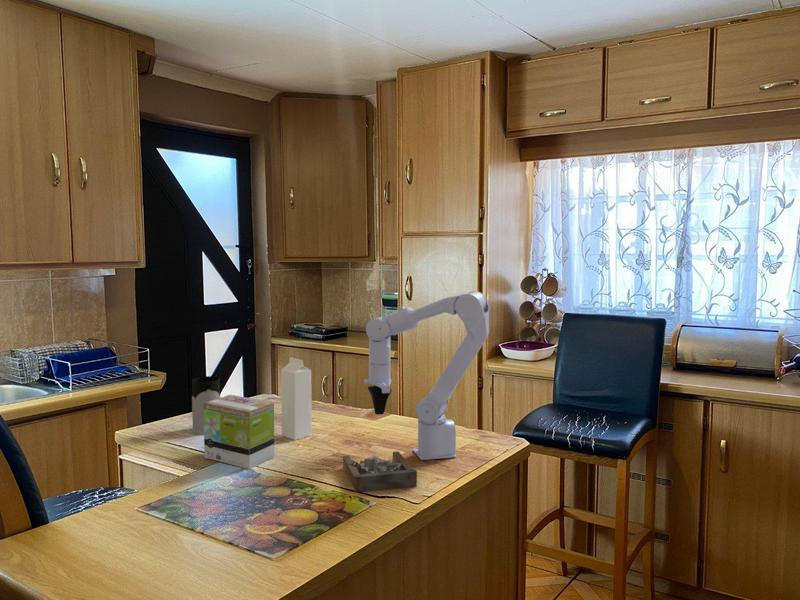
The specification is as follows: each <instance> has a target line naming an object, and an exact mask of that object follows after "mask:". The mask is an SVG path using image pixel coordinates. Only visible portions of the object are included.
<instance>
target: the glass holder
mask: <svg viewBox="0 0 800 600" xmlns="http://www.w3.org/2000/svg"><path fill="white" fill-rule="evenodd" d="M220 379H221V378H220V377H218V376H214V375H213V376H210V375H209V376H199V377H195V378H192V380H191V381H192V384H191V385H192V386H191V387H192V396H191V403H192V404H191V410H192V411H191V412H192V413H191V415H192V427H191V431H190V432H191V434H194V435H197V436H198V435H199V436H204V411H203V409H204V406H203V403H206V402H209V401H212V400H215V399H219V398H221V396H222V395H221V387H220V385H221V384H220Z"/></svg>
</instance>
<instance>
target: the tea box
mask: <svg viewBox="0 0 800 600" xmlns="http://www.w3.org/2000/svg"><path fill="white" fill-rule="evenodd" d="M203 406H204V409H203V411H204V435H203V437H204V438H203V443H204V444H203V445H204V448H203V449H204V458H205V459H208V460H212V461H218V462H222V463H225V464H229V465H232V466H236V467H240V468H243V469H246V470H250V469H252V468H254V467H257V466H259V465H262V464H263V463H265V462H267V461H269V460H271V459H273V458H275V402H272V401H267V400H261V399H257V398H256V399H255V398H249V397H244V396H241V395H240V396H239V395H235V394H234V395H233V394H228V395H225V396H222V397H221V398H219V399H215V400H212V401H209V402H206V403H203Z"/></svg>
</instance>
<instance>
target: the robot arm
mask: <svg viewBox="0 0 800 600" xmlns="http://www.w3.org/2000/svg"><path fill="white" fill-rule="evenodd" d="M490 310H491V309H490V305H489V303H488V300H487V298H486V296H485V295H484V294H483V293H482V292H480V291H476V290H473V291H470V292H467V293H461V294H460V293H459V294H455V295H451V296H447V297H445V298H442V299H438V300H437V301H433V302H430V303H429V304H426V305H424V306H421V307H419V308H417V309H415V308H412V307H410V306H406V307H405V306H404V305H403V306H400V307H398V310H396V311H395V310H394V311H393V312H390V313H387V312H384V313H383V314H382V315H381V316H380V317H379V316H378V317H375V318H373V319H371V320H369V321H368V323H367V325H366V326H365V332H366V336H367V337H368V379H364V380H363V383H364V384H367V385H368V384H370V385H369V386H367V389H368V392H369V394H370V397H371V400H372V405H373V410H374V414H375V415H377V416H378V415H384V413H385V411H386V406H387V402H388V399H389V398H390V395H391V393H392V388H391V384H392V378H391V364H392V363H391V359H392V357H391V351H392V349H391V348H392V347H391V340H392V339H391V337H392V336H396V335H399V334H402V333H404V332H407V331H410V330H413V329H415V328H416V327H418V324H419V322H420V321H422V320H426V319H429V318H433V317H435V316H438V315H441V314H449V315H451V316H455V315H457V316H458V318H459V319H460V320H461V321H462V322H463V325H464V328H465V331H466V335H465V337H464V338H463V340H462V342H461V343H460V345H459V347H458V348H457V349H456V351H455V352H454V355H453V356H452V358H451V359H450V361H449V363H448V364H447V366H446V367H445V369H444V370H443V372H442V373H441V376H439V378H438V379H437V382H436V383H435V384H434V386H433V387H432V389H431V390H430V391H429V392H428V394H427V395H426V397H424V398H423V399H422V400H420V401H419V402H418V403H417V404H416V407H415V415H416V417H417V447H415V448H412V451H413V452H414V454H415V455H416V456H417V457H418V458H419V459H420V460H421V461H425V460H426V461H427V460H436V459H437V460H439V459H451V458H457V454H456V452H457V451H456V448H457V447H456V444H457V443H456V440H457V432H456V431H457V430H456V424H455V422H454V421H453V419H447V417H446V414H445V412H446V411H447V410H448V407H449V401H450V398H451V397H452V395H453V392H454V390H456V387H457V385H458V384H459V382H460V381H461V380H462V378H463V377H464V375H465V374H466V372H467V370H468V368H470V365H471V364H472V362H473V361H474V359H475V357H476V356H477V354H478V353H479V352H480V350H481V348H482V346H483V345H484V343H485V342H486V340H487V339H488V337H489V334H490V316H489V315H490Z"/></svg>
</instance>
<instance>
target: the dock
mask: <svg viewBox="0 0 800 600" xmlns="http://www.w3.org/2000/svg"><path fill="white" fill-rule="evenodd" d="M352 460H353V459H351V457H350V455H342V469H343V471H344V473H345V475H346V477H347V479H348V481H349V483H350V484H351V487H352V488H353V490H354V492H355V493H366V492H367V493H369V492H377V491H387V490H398V489H406V488H417V486H418V483H417V482H418V471H417V470H416V469H415V468H413V467H412V465H410V463H409V462H408V461H407V459H406V458H405V457H404V456H403V455H402V454H401V453H400V452H399V451H392V462H394V463H402V464H401V466H400V468H399V471H391V472H380V473H369V474H359V472H358V470H357V468H356V467H355V463H353V462H351V461H352Z"/></svg>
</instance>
